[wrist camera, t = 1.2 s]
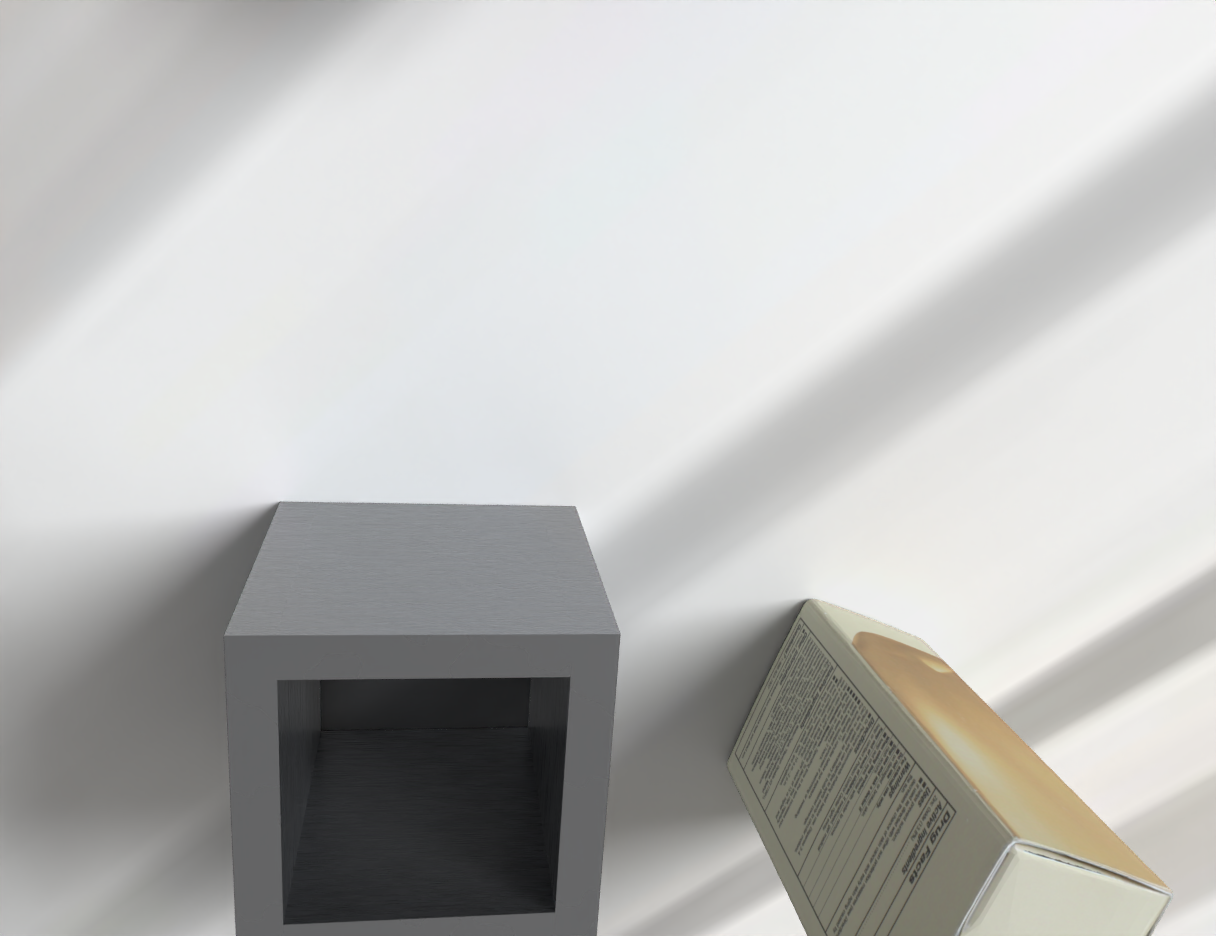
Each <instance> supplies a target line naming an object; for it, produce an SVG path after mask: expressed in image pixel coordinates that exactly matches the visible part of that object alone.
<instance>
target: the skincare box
mask: <svg viewBox="0 0 1216 936" xmlns="http://www.w3.org/2000/svg"><path fill="white" fill-rule="evenodd" d="M727 768H728V770H729V773H730V775H731V777H732V779H733V781H734V783H735V785H736V787H737V789H738V792H739V794H740V796H741V798H742V800H743V802H744V804H745V806H746V808H747V810H748V812H749V814H750V817H751V819H752V821H753V823H754V825H755V827H756V829H757V831H758V833H759V835H760V837H761V839H762V841H763V844H764V846H765V848H766V850H767V852H768V854H769V856H770V858H771V860H772V862H773V864H774V867H775V869H776V871H777V873H778V875H779V877H780V879H781V881H782V883H783V885H784V887H785V889H786V891H787V893H788V896H789V898H790V900H791V902H792V904H793V906H794V908H795V910H796V913H797V915H798V917H799V919H800V921H801V923H802V925H803V927H804V929H805V932H806V934H807V936H1151V935H1152V934H1153V932H1154V930H1155V928H1156V926H1157V924H1158V922H1159V921H1160V919H1161V917H1162V915H1163V914H1164V912H1165V910H1166V909H1167V907H1168V905H1169V904H1170V902H1171V900H1172V899H1173V892H1172V891H1171V890H1170V889H1169V888H1168V887H1167V886H1166V885H1165V884H1164V882H1163V881H1162V880H1161V879H1160V878H1159V877H1158V876H1157V875H1156V874H1155V873H1154V872H1153V871H1151V870H1150V869H1149V868H1148V867H1147V866H1146V865H1145V864H1144V863H1143V862H1142V861H1141V860H1140V859H1139V858H1138V856H1137V855H1136V854H1135V853H1134V852H1133V851H1132V850H1131V849H1130V848H1129V847H1128V846H1127V845H1126V844H1125V843H1124V842H1123V841H1122V840H1121V839H1120V838H1119V837H1118V836H1117V835H1116V834H1115V833H1114V832H1113V831H1112V830H1111V829H1110V828H1109V827H1108V826H1107V825H1106V824H1105V823H1104V822H1103V821H1102V820H1101V819H1100V818H1099V817H1098V816H1097V815H1096V814H1095V813H1094V812H1093V811H1092V810H1091V809H1090V808H1089V807H1088V806H1087V805H1086V804H1085V803H1084V802H1083V801H1082V800H1081V799H1080V798H1079V797H1078V796H1077V795H1076V794H1075V793H1074V791H1072V790H1071V789H1070V788H1069V787H1068V786H1067V785H1066V784H1065V783H1064V782H1063V781H1062V780H1061V779H1060V778H1059V777H1058V776H1057V775H1056V774H1055V773H1054V771H1053V770H1052V769H1050V768H1049V767H1048V766H1047V765H1046V764H1045V763H1044V762H1043V761H1042V760H1041V758H1040V757H1039V756H1038V755H1037V754H1036V753H1035V752H1034V751H1033V750H1032V749H1031V748H1030V747H1029V746H1028V745H1027V744H1026V743H1025V742H1024V741H1023V740H1022V739H1021V738H1020V737H1019V736H1018V735H1017V734H1016V733H1015V732H1014V731H1013V730H1012V729H1011V728H1010V727H1009V726H1008V725H1007V724H1006V723H1005V722H1004V721H1003V720H1002V719H1001V718H1000V717H999V716H998V715H997V714H996V713H995V712H994V711H993V710H992V709H991V708H990V707H989V706H988V705H987V704H986V703H985V702H984V701H983V700H982V699H981V698H980V697H979V696H978V695H977V694H976V693H975V692H974V691H973V690H972V689H971V688H970V687H969V686H968V685H967V684H966V683H965V682H964V681H963V680H962V679H961V678H960V677H959V676H958V675H957V674H956V673H955V672H954V671H953V670H952V669H951V668H950V667H949V666H948V665H947V664H946V663H945V662H944V661H943V660H942V659H941V658H940V657H939V655H938V654H937V653H936V652H935V651H933V649H932V648H931V647H930V646H929V645H928V644H927V643H926V642H924V641H923V640H922V639H920V638H918V637H916V636H913V635H911V634H908V633H906V632H903V631H901V630H898V629H896V628H894V627H891V626H888V625H886V624H883V623H881V622H878V621H876V620H873V619H870V618H868V617H865V616H862V615H860V614H857V613H854V612H851V611H849V610H846V609H843V608H840V607H838V606H835V605H832V604H829V603H826V602H823V601H820V600H817V599H809V600H808V601H806V602H805V604H804V605H803V607H802V609H801V611H800V613H799V615H798V617H797V618H796V620H795V622H794V624H793V626H792V628H791V630H790V632H789V634H788V636H787V638H786V639H785V641H784V643H783V645H782V647H781V649H780V651H779V653H778V655H777V657H776V660H775V662H774V664H773V666H772V668H771V670H770V672H769V674H768V676H767V678H766V680H765V682H764V684H763V686H762V688H761V690H760V692H759V694H758V696H757V698H756V701H755V703H754V705H753V707H752V709H751V712H750V714H749V716H748V718H747V720H746V722H745V724H744V727H743V729H742V731H741V733H740V735H739V738H738V740H737V742H736V744H735V746H734V749H733V751H732V753H731V755H730V758H729V760H728V763H727Z"/></svg>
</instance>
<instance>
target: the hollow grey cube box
mask: <svg viewBox="0 0 1216 936" xmlns="http://www.w3.org/2000/svg"><path fill="white" fill-rule="evenodd" d="M619 646H620V631H619V629H618V626H617V623H616V620H615V617H614V614H613V612H612V609H611V606H610V603H609V600H608V597H607V595H606V592H605V589H604V586H603V583H602V580H601V578H600V575H599V572H598V569H597V566H596V563H595V561H594V558H593V555H592V552H591V549H590V546H589V544H588V541H587V538H586V535H585V532H584V529H583V527H582V524H581V521H580V518H579V515H578V512H577V510H576V507H575V506H515V505H451V504H387V503H323V502H280V503H279V505H278V508H277V510H276V513H275V515H274V517H273V520H272V522H271V524H270V527H269V529H268V532H267V534H266V536H265V539H264V541H263V544H262V546H261V548H260V551H259V553H258V555H257V558H256V560H255V563H254V565H253V567H252V570H251V572H250V574H249V577H248V579H247V582H246V584H245V586H244V589H243V591H242V594H241V596H240V598H239V601H238V603H237V605H236V608H235V610H234V613H233V615H232V617H231V620H230V622H229V625H228V627H227V629H226V632H225V634H224V651H225V676H226V701H227V726H228V750H229V775H230V800H231V825H232V850H233V874H234V899H235V924H236V936H597V923H598V910H599V898H600V885H601V873H602V860H603V848H604V835H605V822H606V810H607V797H608V785H609V772H610V759H611V747H612V734H613V722H614V709H615V696H616V684H617V671H618V659H619ZM530 677H531V682H530V701H529V720H528V727H507V728H450V729H393V730H336V731H321V691H320V680H333V679H431V678H530Z"/></svg>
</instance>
